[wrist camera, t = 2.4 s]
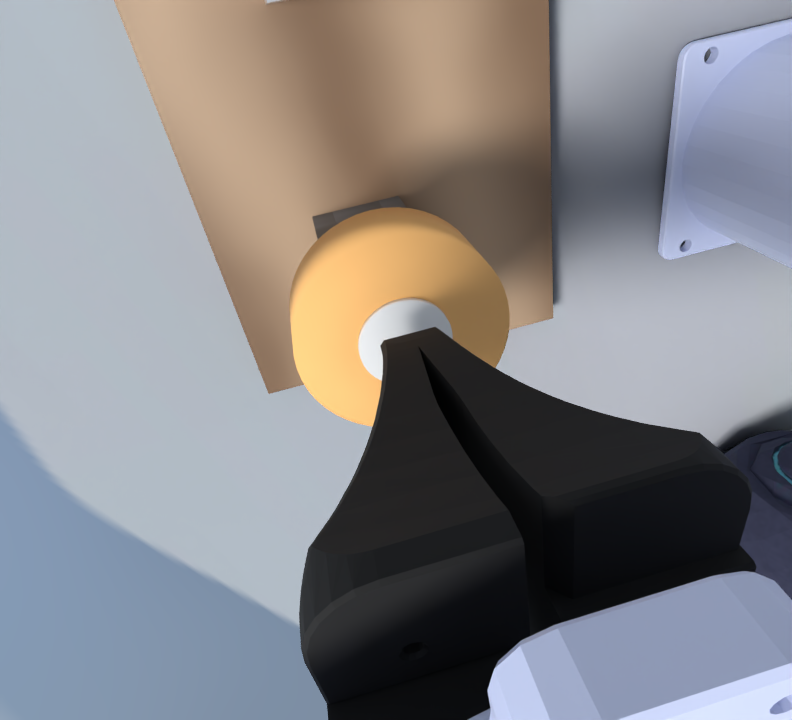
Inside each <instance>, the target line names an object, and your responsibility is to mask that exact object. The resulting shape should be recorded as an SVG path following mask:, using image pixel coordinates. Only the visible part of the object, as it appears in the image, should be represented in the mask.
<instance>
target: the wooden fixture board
mask: <svg viewBox="0 0 792 720" xmlns="http://www.w3.org/2000/svg"><path fill="white" fill-rule="evenodd" d="M114 2H115V4H116V7H117V9H118V12H119V14H120V17H121V19H122V22H123V24H124V27H125V30H126V32H127V35H128V37H129V40H130V42H131V45H132V47H133V50H134V52H135V55H136V57H137V60H138V63H139V65H140V68H141V70H142V73H143V75H144V78H145V80H146V83H147V85H148V88H149V91H150V93H151V96H152V98H153V101H154V103H155V106H156V108H157V111H158V113H159V116H160V118H161V121H162V124H163V126H164V129H165V131H166V134H167V136H168V139H169V141H170V144H171V146H172V149H173V152H174V154H175V157H176V159H177V162H178V164H179V167H180V169H181V172H182V174H183V177H184V179H185V182H186V185H187V187H188V190H189V192H190V195H191V197H192V200H193V202H194V205H195V207H196V210H197V213H198V215H199V218H200V220H201V223H202V225H203V228H204V230H205V233H206V235H207V238H208V241H209V243H210V246H211V248H212V251H213V253H214V256H215V258H216V261H217V263H218V266H219V268H220V271H221V274H222V276H223V279H224V281H225V284H226V286H227V289H228V291H229V294H230V296H231V299H232V302H233V304H234V307H235V309H236V312H237V314H238V317H239V319H240V322H241V324H242V327H243V329H244V332H245V335H246V337H247V340H248V342H249V345H250V347H251V350H252V352H253V355H254V357H255V360H256V363H257V365H258V368H259V370H260V373H261V375H262V378H263V380H264V383H265V385H266V388H267V390H268V393H269V394H270V393H274V392H277V391H281V390H285V389H289V388H292V387H296V386H300V385H304V383H303V381H302V380H301V377H300V375H299V373H298V370H297V368H296V364H295V360H294V354H293V344H292V333H291V322H290V311H289V300H290V291H291V286H292V282H293V279H294V276H295V273H296V270H297V269H298V267H299V265H300V263H301V261H302V259H303V257H304V256H305V255H306V253H307V252H308V250H309V249H310V248H311V246H312V245H313V244H314V243H315V242H316V241H317V240H318V239H319V238H320V237H321V236H322V235H323V234H325V233H326V232H327V231H328V230H329V229H331V228H332V227H334V226H335V225H337V224H339V223H340V222H342V221H343V220H346V219H348V218H350V217H352V216H354V215H356V214H360V213H363V212H366V211H369V210H374V209H380V208H391V207H401V208H412V209H416V210H421V211H425V212H427V213H430V214H433V215H435V216H438V217H439V218H441V219H443V220H445V221H446V222H448V223H449V224H451V225H452V226H453V227H455V228H456V229H457V230H458V231H459V232H460V233H461V234H462V235H463V236H464V237H465V238H466V239H467V240H468V241H469V242H470V244H471V245H472V246H473V247H474V248H475V249H476V250H477V251H478V252H479V254H480V255H481V256H482V257H483V258H484V259H485V260H486V261H487V263H488V264H489V265H490V266H491V267H492V268H493V270H494V271H495V273H496V274H497V276H498V277H499V279H500V281H501V283H502V285H503V287H504V289H505V293H506V296H507V299H508V305H509V312H510V326H509V330H510V329H514V328H518V327H521V326H525V325H529V324H533V323H536V322H540V321H544V320H548V319H551V318H553V272H552V200H551V128H550V55H549V0H286V1H282V2H277V3H272V4H268V5H266V4H265V0H114Z"/></svg>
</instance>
